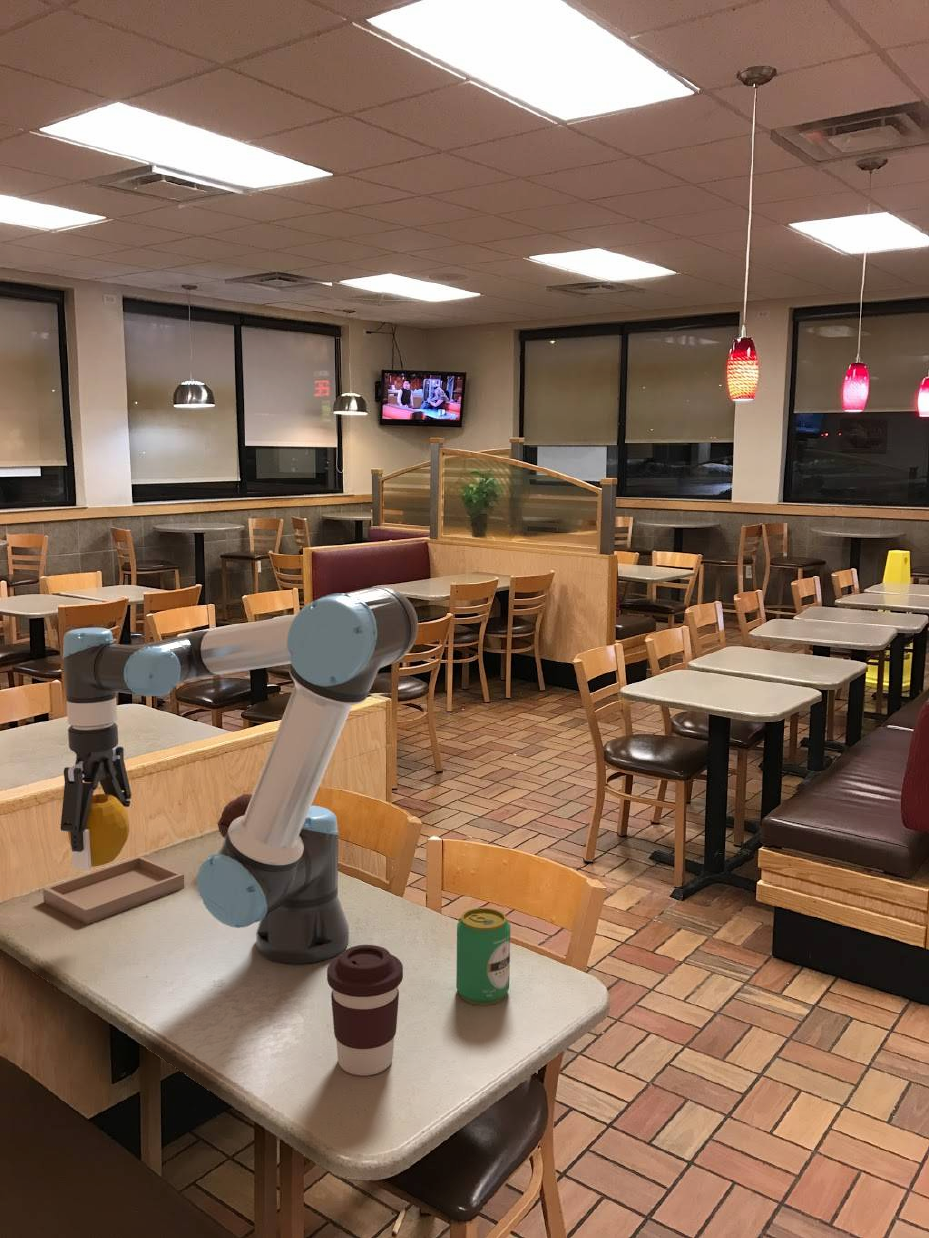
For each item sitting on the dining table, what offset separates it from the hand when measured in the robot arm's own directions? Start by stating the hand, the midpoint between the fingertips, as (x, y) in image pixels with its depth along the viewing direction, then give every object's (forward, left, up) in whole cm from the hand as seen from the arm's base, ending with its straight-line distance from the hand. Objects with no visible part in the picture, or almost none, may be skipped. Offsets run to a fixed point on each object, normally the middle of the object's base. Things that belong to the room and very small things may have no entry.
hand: (100, 856), depth 167 cm
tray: (+7, -16, -14) cm, 23 cm away
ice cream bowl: (-11, -34, -15) cm, 39 cm away
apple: (0, 0, -1) cm, 1 cm away
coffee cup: (-53, +24, -15) cm, 60 cm away
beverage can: (-65, +3, -15) cm, 66 cm away
